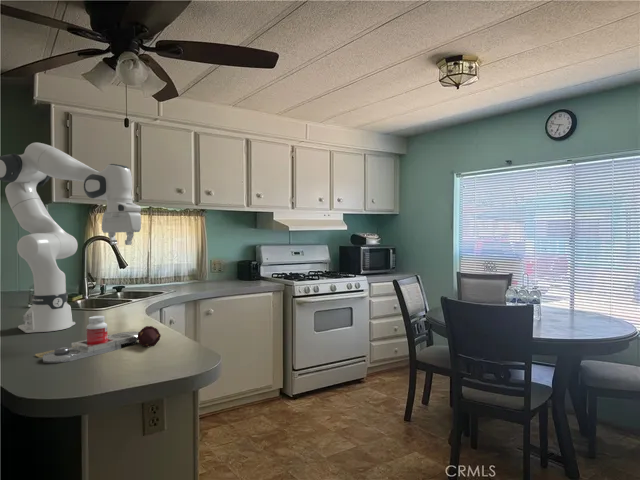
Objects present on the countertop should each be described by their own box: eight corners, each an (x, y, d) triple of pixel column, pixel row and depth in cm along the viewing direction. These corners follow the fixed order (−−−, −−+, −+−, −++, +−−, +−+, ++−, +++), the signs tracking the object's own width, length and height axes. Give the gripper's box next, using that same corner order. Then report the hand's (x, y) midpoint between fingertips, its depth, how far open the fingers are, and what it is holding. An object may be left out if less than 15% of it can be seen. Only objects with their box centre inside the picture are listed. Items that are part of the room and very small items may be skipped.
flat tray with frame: (52, 365, 132) (52, 355, 132) (36, 360, 138) (36, 350, 137) (148, 341, 158) (148, 333, 158) (132, 338, 164) (131, 330, 164)
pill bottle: (109, 350, 147) (108, 317, 147) (88, 353, 144) (87, 319, 144) (106, 346, 152) (105, 314, 152) (86, 349, 149) (85, 316, 149)
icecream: (166, 329, 149) (158, 325, 162) (143, 326, 145) (136, 322, 158) (161, 350, 147) (153, 345, 160) (138, 348, 144) (132, 342, 157)
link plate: (39, 359, 141) (39, 355, 141) (35, 357, 142) (35, 353, 142) (66, 353, 147) (66, 349, 147) (62, 351, 149) (62, 348, 149)
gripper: (96, 208, 171) (97, 245, 171) (128, 206, 159) (129, 245, 160) (112, 209, 176) (113, 244, 176) (143, 206, 165) (144, 244, 165)
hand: (121, 244), depth 168 cm, fingers open, 8 cm apart
